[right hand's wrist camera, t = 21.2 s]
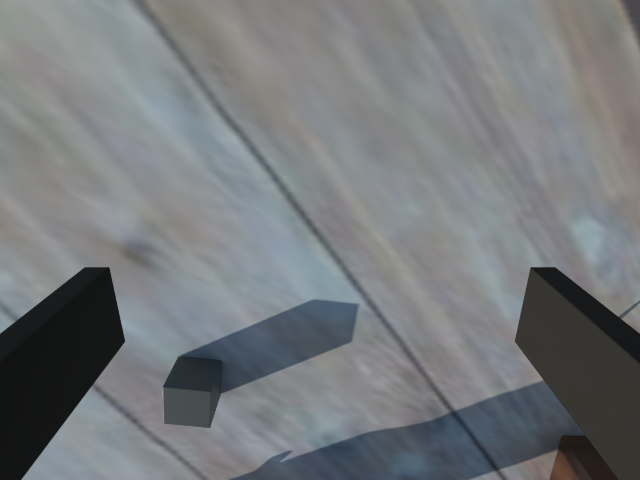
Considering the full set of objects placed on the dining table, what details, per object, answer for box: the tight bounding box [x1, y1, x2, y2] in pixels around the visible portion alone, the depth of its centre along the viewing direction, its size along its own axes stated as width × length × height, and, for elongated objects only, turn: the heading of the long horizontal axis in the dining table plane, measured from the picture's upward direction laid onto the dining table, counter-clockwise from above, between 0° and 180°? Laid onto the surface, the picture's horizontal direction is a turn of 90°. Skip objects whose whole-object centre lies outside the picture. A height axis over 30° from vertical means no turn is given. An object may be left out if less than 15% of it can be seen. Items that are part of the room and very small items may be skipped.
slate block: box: [163, 357, 222, 428], centre depth 45 cm, size 5×5×5 cm
